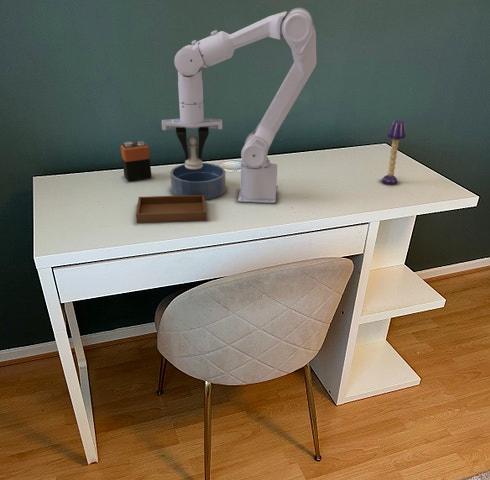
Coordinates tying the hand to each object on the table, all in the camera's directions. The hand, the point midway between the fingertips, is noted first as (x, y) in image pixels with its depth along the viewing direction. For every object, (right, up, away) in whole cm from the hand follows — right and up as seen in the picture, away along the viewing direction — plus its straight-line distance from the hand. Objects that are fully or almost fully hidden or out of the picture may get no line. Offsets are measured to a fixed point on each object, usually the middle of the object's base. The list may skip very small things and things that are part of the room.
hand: (193, 157), depth 126 cm
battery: (-17, -2, +14) cm, 22 cm away
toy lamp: (+53, -3, +14) cm, 55 cm away
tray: (-5, -15, -5) cm, 16 cm away
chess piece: (0, -2, +1) cm, 2 cm away
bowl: (+1, -7, +7) cm, 10 cm away
